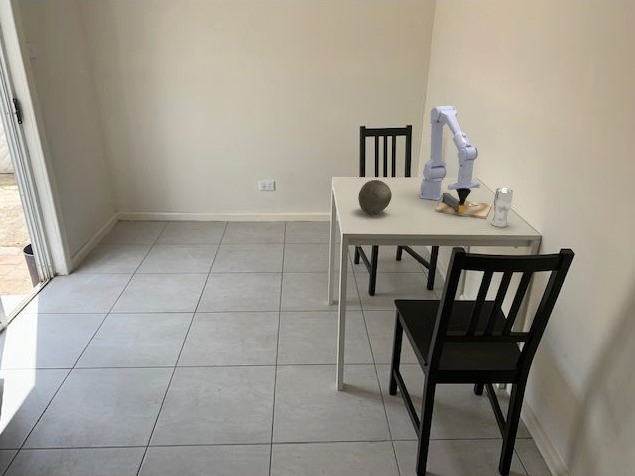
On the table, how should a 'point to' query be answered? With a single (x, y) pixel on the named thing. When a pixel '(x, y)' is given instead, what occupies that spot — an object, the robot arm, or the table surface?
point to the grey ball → (374, 196)
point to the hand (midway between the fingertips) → (461, 204)
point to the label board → (466, 209)
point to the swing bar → (453, 202)
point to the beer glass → (502, 206)
